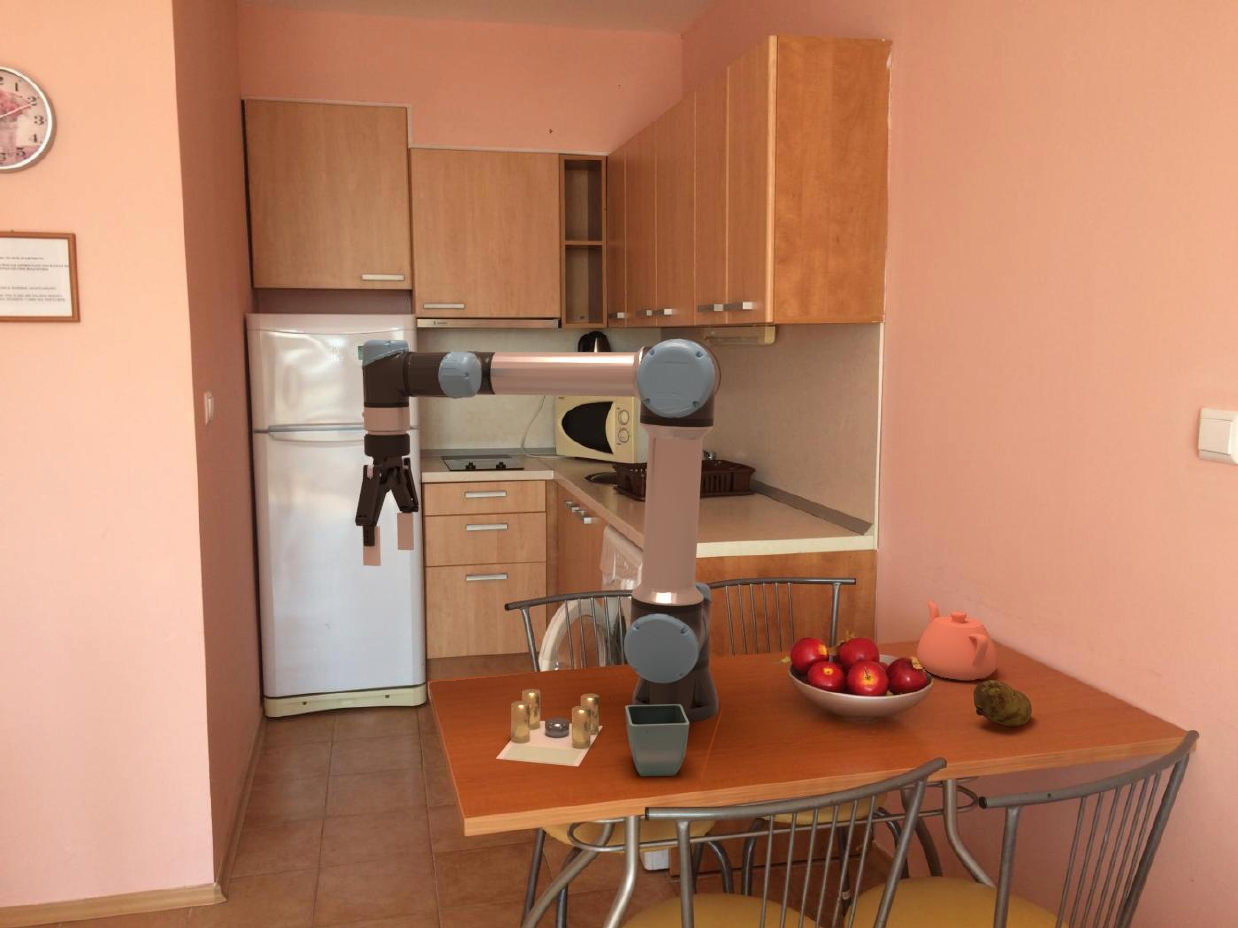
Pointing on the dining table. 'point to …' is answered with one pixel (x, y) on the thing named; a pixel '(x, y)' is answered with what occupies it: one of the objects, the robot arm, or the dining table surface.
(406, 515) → the robot arm
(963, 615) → the teapot
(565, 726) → the dark metal puck
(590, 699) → the cylinder
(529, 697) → the cylinder
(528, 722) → the cylinder
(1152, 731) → the dining table surface
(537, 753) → the board
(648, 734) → the flower pot
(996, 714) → the potato
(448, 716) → the dining table surface
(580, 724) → the cylinder
